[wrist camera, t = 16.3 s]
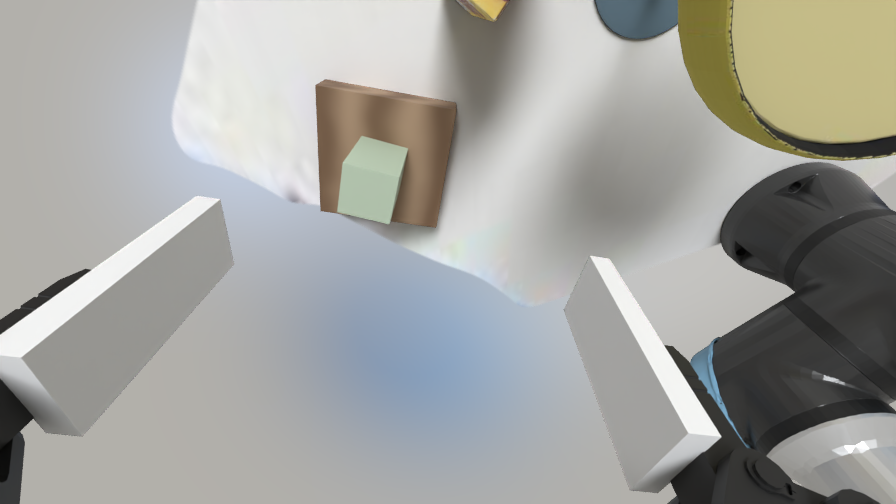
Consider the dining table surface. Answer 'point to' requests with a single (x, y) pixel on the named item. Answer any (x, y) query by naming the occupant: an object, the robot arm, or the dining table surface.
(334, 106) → the walnut plinth
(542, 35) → the dining table surface
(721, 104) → the cocktail glass
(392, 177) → the sage block
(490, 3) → the candy box
